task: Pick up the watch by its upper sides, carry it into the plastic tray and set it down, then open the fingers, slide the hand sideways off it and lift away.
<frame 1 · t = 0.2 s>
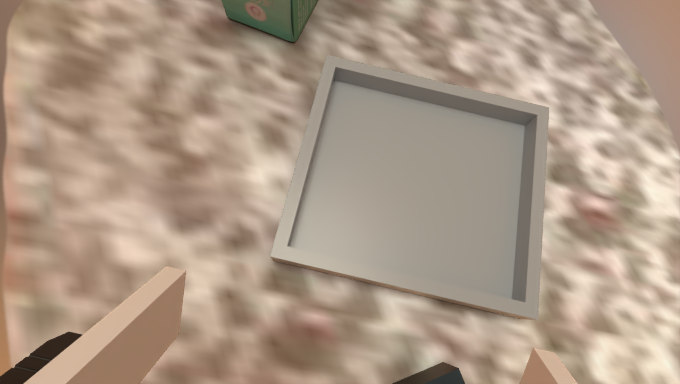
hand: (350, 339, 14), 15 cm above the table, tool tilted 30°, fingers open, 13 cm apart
tray: (414, 184, 32), on the table
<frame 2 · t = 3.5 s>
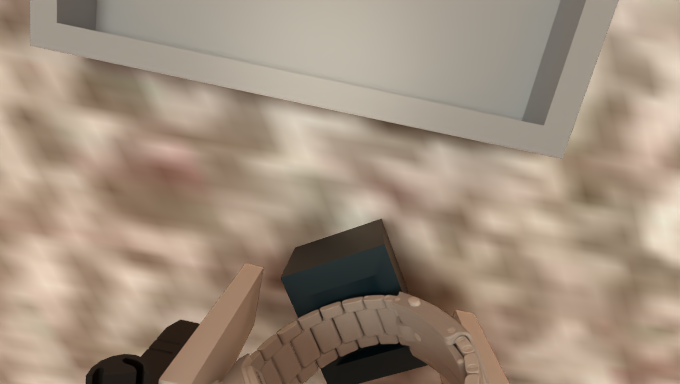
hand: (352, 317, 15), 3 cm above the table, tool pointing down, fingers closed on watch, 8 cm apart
watch: (356, 284, 18), on the table, touching gripper
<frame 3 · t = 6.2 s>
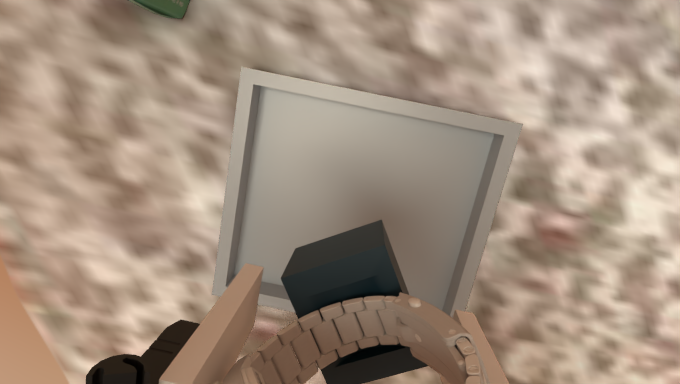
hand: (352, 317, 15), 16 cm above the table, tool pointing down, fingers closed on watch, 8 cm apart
watch: (356, 284, 18), point 13 cm above the table, touching gripper
tray: (355, 207, 30), on the table
when the fingers open (4 cm above the table, at t = 9.2 s): watch stays where it is, resting on tray.
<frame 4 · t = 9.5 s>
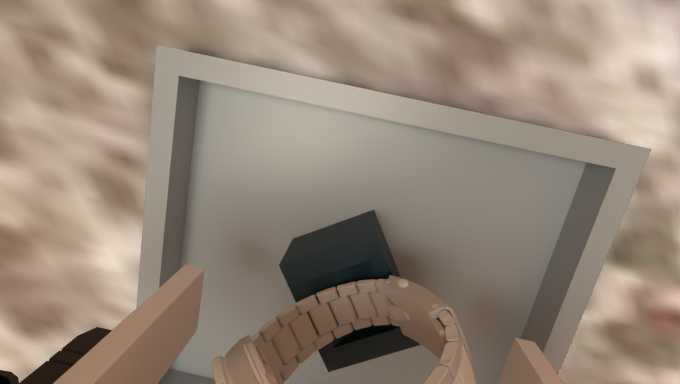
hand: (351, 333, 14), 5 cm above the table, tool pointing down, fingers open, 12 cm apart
watch: (351, 272, 19), resting on tray
tray: (355, 271, 19), on the table
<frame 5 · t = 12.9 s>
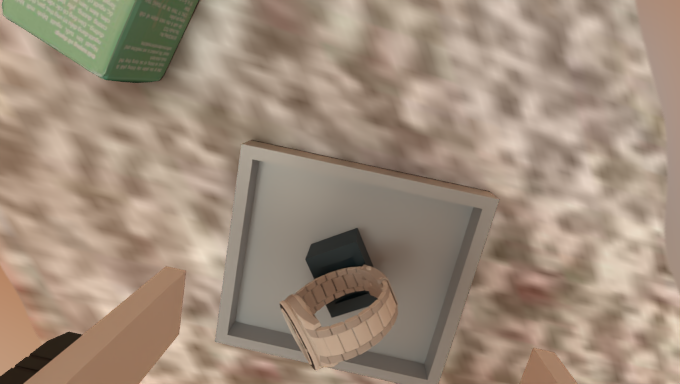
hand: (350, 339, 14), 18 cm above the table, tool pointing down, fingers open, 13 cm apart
watch: (345, 263, 33), resting on tray
tray: (347, 263, 33), on the table
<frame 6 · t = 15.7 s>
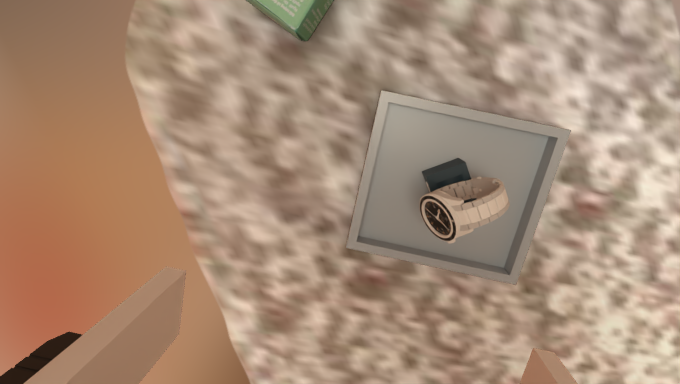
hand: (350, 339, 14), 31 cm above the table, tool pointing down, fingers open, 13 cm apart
watch: (446, 187, 43), resting on tray
tray: (447, 187, 43), on the table
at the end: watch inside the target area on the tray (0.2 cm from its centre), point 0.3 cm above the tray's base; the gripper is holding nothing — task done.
